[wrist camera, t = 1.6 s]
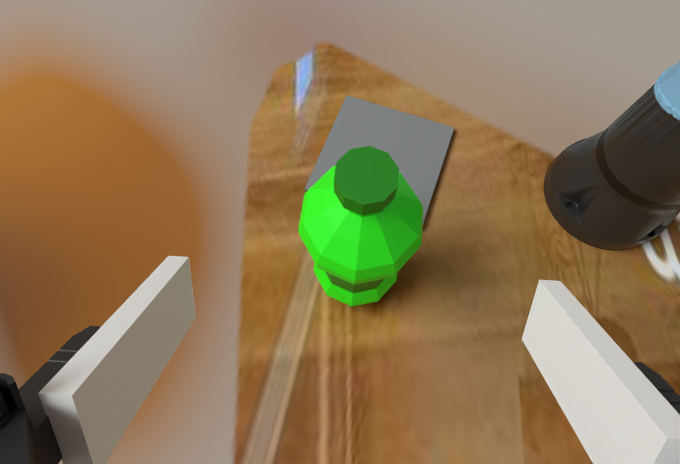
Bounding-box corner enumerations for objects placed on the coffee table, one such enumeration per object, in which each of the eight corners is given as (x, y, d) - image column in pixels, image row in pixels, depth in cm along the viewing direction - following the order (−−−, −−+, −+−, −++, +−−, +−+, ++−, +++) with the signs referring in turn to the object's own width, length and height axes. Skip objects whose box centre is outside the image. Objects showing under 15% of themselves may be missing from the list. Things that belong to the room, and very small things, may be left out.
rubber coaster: (452, 130, 56) (454, 127, 55) (420, 230, 51) (421, 228, 50) (346, 98, 58) (346, 95, 57) (305, 191, 53) (304, 188, 52)
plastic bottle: (309, 309, 47) (275, 242, 24) (321, 227, 51) (302, 100, 27) (392, 318, 47) (442, 261, 23) (398, 235, 50) (447, 113, 27)
